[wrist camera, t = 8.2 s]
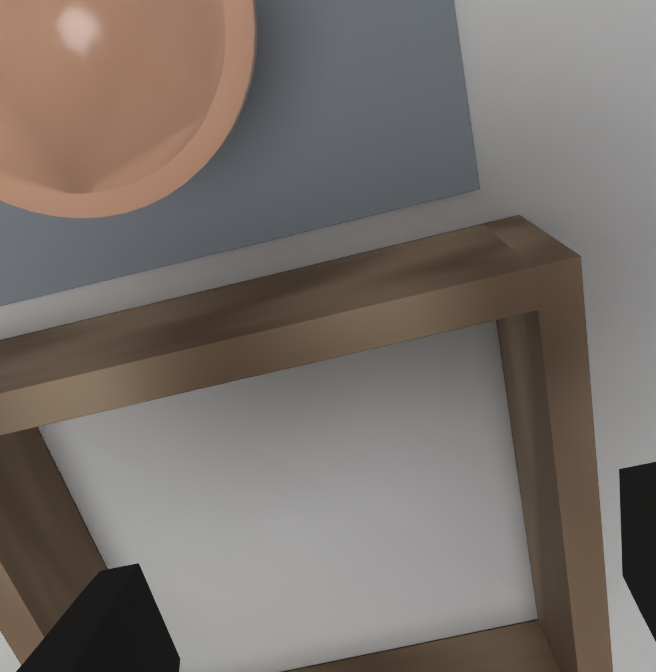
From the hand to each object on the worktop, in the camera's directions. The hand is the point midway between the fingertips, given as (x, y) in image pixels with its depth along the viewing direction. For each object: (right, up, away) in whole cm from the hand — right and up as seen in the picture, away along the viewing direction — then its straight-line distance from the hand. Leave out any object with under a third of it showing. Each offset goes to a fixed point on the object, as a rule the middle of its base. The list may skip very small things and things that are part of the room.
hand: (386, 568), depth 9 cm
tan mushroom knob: (-5, +10, +5) cm, 13 cm away
